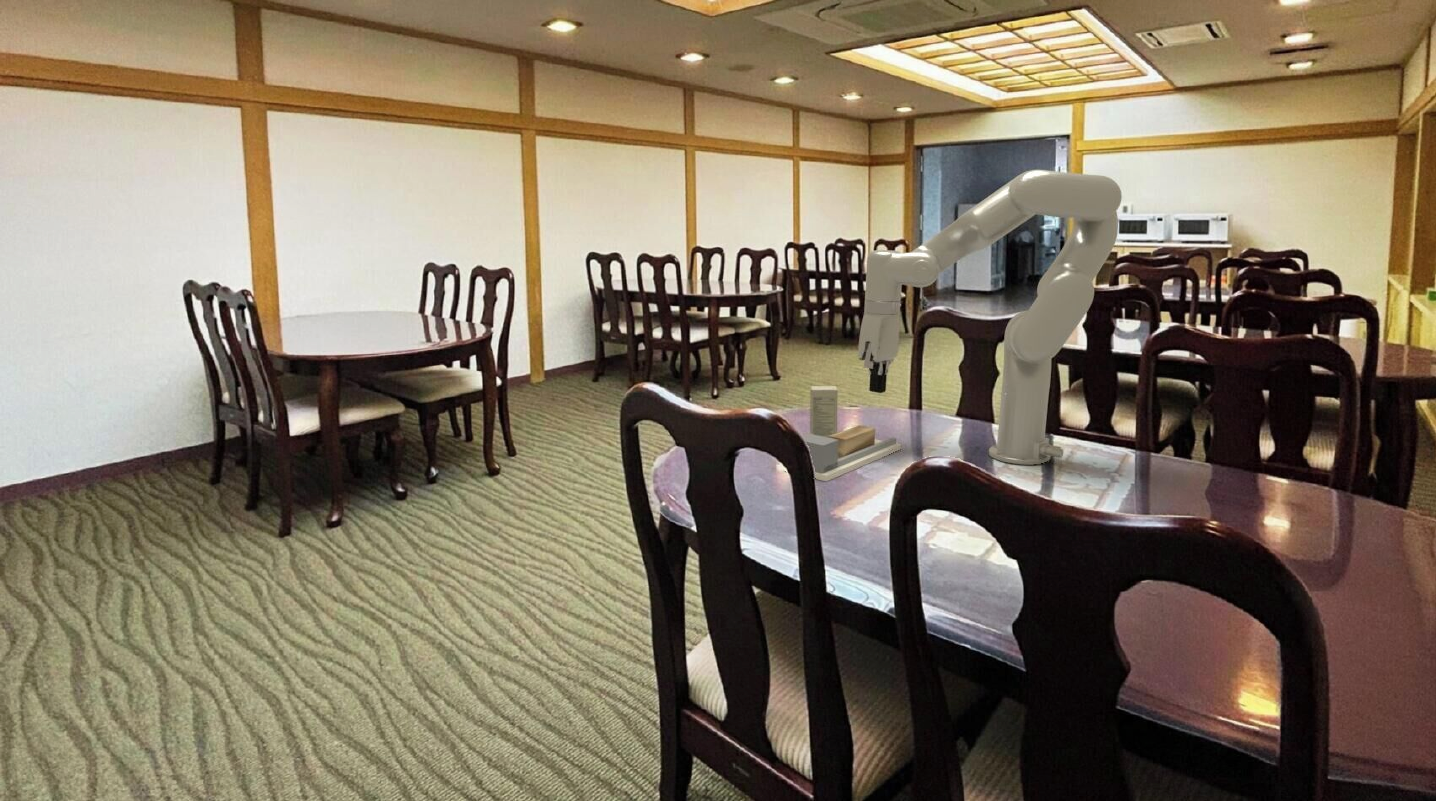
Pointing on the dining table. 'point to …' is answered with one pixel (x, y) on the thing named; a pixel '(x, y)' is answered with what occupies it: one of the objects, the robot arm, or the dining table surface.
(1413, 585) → the dining table surface
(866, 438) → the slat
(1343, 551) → the dining table surface
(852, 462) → the board
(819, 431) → the skincare box
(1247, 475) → the dining table surface
